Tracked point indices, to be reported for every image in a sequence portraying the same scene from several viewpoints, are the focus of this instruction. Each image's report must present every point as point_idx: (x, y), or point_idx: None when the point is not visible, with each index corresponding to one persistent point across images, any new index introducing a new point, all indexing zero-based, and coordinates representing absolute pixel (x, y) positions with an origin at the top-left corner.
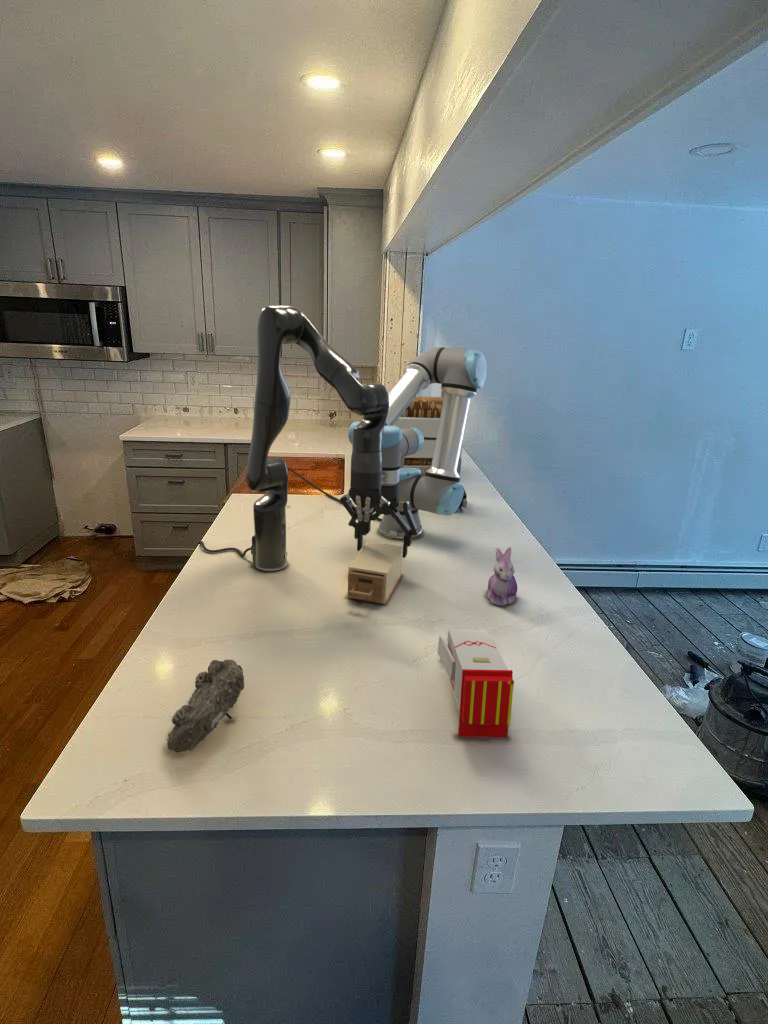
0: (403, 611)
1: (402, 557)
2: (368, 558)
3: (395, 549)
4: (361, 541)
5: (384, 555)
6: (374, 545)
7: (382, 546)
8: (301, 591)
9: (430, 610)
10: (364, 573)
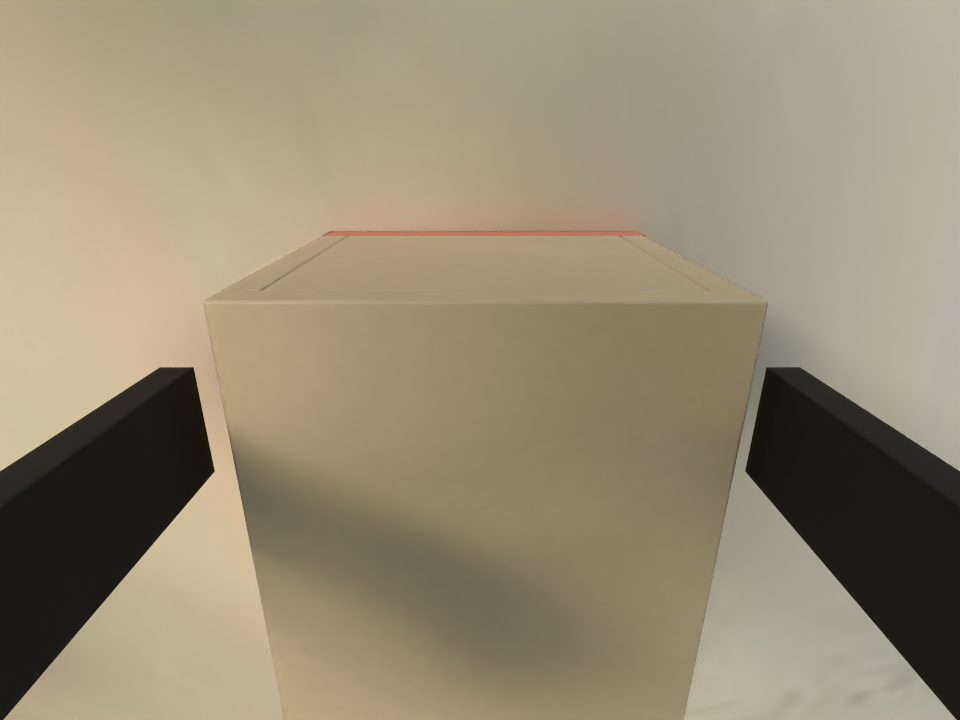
0: (704, 660)
1: (746, 472)
2: (414, 716)
3: (665, 428)
4: (141, 465)
5: (559, 614)
6: (347, 399)
7: (465, 392)
8: (100, 639)
9: (855, 615)
10: None
